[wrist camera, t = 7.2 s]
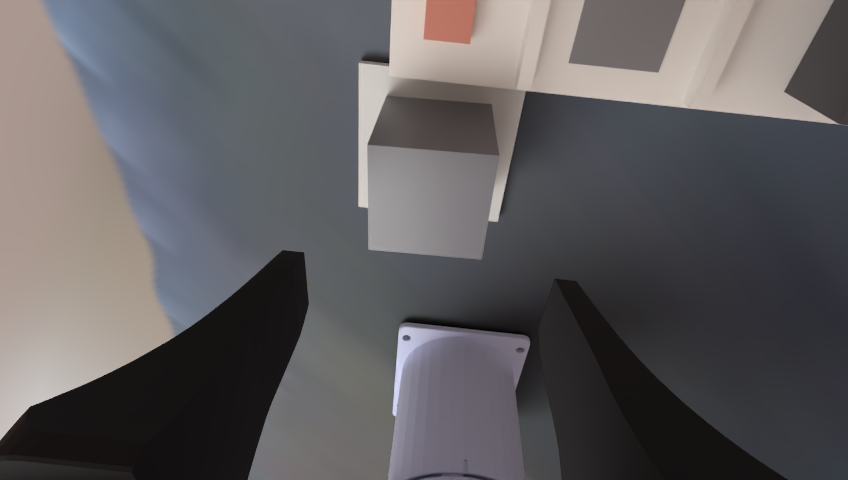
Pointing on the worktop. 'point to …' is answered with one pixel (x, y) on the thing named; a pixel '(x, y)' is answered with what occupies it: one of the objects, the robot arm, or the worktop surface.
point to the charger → (431, 177)
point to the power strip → (637, 51)
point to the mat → (380, 85)
